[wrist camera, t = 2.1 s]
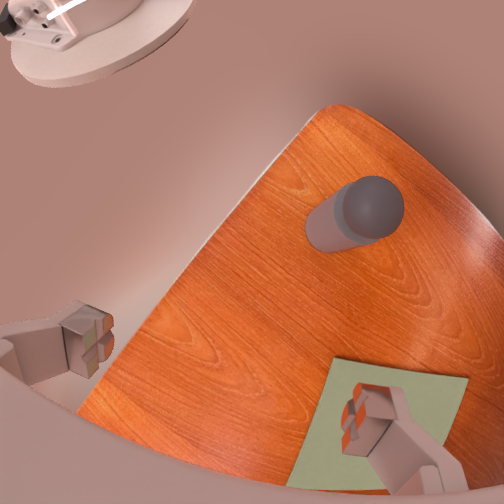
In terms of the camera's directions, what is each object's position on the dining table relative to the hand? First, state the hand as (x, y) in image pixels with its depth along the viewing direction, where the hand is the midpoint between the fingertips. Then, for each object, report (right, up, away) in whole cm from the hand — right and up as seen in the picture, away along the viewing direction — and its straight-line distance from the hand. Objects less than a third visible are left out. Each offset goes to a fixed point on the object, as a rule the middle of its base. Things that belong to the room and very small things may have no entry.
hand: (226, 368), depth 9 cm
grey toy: (+8, +6, +21) cm, 23 cm away
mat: (+16, -17, +20) cm, 31 cm away
